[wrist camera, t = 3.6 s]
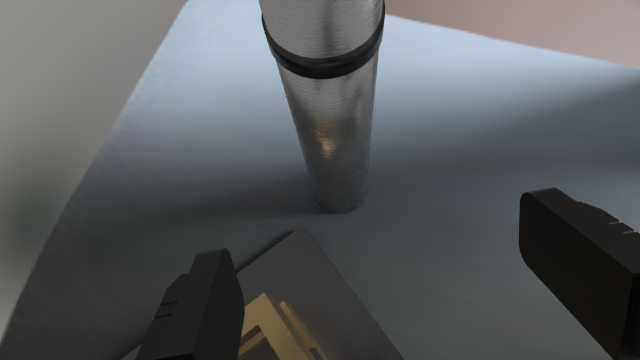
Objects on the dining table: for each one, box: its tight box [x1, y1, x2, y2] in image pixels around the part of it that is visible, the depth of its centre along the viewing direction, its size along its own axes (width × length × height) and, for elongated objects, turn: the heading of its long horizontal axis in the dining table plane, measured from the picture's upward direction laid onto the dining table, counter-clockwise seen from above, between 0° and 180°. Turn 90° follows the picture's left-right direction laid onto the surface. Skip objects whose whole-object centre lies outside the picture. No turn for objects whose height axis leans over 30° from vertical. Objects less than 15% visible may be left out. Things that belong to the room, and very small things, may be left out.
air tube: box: [259, 0, 385, 214], centre depth 21 cm, size 4×4×20 cm
